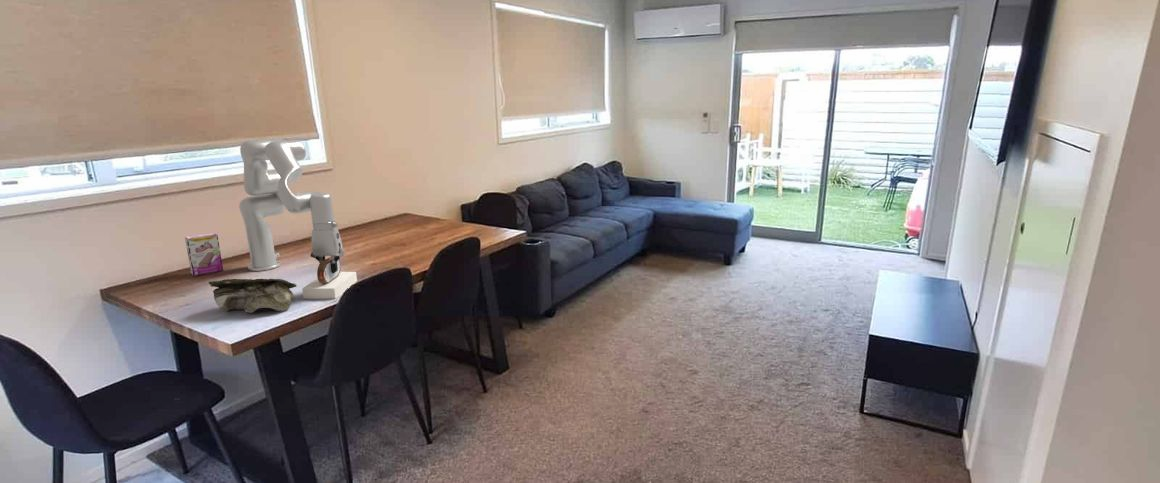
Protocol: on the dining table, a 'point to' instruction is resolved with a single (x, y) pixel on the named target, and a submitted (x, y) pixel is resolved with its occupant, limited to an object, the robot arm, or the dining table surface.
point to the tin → (327, 271)
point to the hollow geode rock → (253, 294)
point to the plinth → (329, 287)
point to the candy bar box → (204, 254)
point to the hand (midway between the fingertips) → (330, 271)
